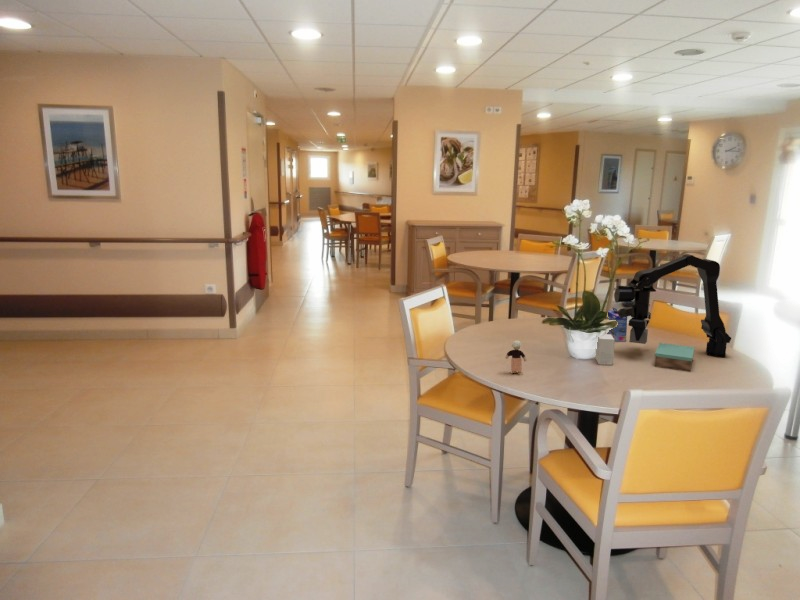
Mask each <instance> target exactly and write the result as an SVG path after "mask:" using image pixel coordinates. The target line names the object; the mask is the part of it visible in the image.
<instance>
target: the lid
mask: <svg viewBox="0 0 800 600" xmlns="http://www.w3.org/2000/svg"><path fill="white" fill-rule="evenodd" d="M694 354H695V347H694V346H688V345H681V344H680V345H679V344H672V343H663V342H659V344H658V346H657V348H656V350H655V352H654V357H656V356H658V357H665V358H672V359H679V360H686V361H692V362H693V359H694Z"/></svg>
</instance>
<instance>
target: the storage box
mask: <svg viewBox="0 0 800 600" xmlns="http://www.w3.org/2000/svg"><path fill="white" fill-rule="evenodd" d="M692 364H693V360H692V361H686V360H679V359H672V358H665V357H658V356H655V360H654V367H656V368H657V367H658V368H664V369H672V370H677V371H678V370H679V371H686V372H691V368H692Z"/></svg>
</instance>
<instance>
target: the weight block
mask: <svg viewBox="0 0 800 600" xmlns="http://www.w3.org/2000/svg"><path fill="white" fill-rule="evenodd" d="M648 333H649V329H648V328H646V329H645V330H644V332H643V334H642V336H641V338H640V340H639V341H636V337H635V332H634V328H633V327H631V329H630V332H629V343H634V344H635V343H636V344H641V345H642V344H643V345H646V343H647V342H648Z"/></svg>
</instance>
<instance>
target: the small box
mask: <svg viewBox="0 0 800 600" xmlns="http://www.w3.org/2000/svg"><path fill="white" fill-rule="evenodd" d="M604 334H605V335H604V336H602V337H598V342H597V349H596V348H595V354H596V355H595V356H594V358H595V361H596V362H597V364H598V365H603V366H604V365H605V366H606V365H608V366H613V365H614V358H615V357H614V355H615V354H614V353H615V339H614V338H613V337H612V335H611V334H606V333H604Z"/></svg>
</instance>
